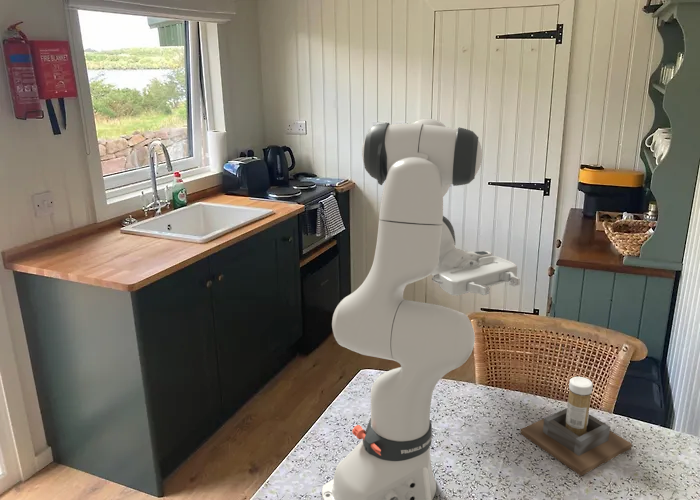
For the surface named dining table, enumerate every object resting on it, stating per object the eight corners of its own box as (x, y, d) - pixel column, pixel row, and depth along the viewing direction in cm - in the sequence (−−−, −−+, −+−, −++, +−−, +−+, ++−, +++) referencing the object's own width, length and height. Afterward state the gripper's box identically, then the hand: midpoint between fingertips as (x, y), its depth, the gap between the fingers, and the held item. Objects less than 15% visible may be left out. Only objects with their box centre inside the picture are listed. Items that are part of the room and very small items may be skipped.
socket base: (580, 476, 113) (583, 456, 112) (520, 433, 126) (521, 415, 125) (631, 448, 121) (634, 429, 120) (569, 411, 134) (571, 393, 133)
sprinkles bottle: (589, 435, 123) (596, 381, 119) (580, 445, 120) (587, 389, 116) (569, 426, 127) (575, 373, 122) (559, 435, 124) (565, 381, 119)
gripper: (428, 265, 134) (468, 283, 123) (492, 249, 144) (535, 265, 133) (427, 290, 136) (467, 310, 125) (491, 273, 146) (532, 290, 135)
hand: (502, 287), depth 129 cm, fingers open, 8 cm apart
